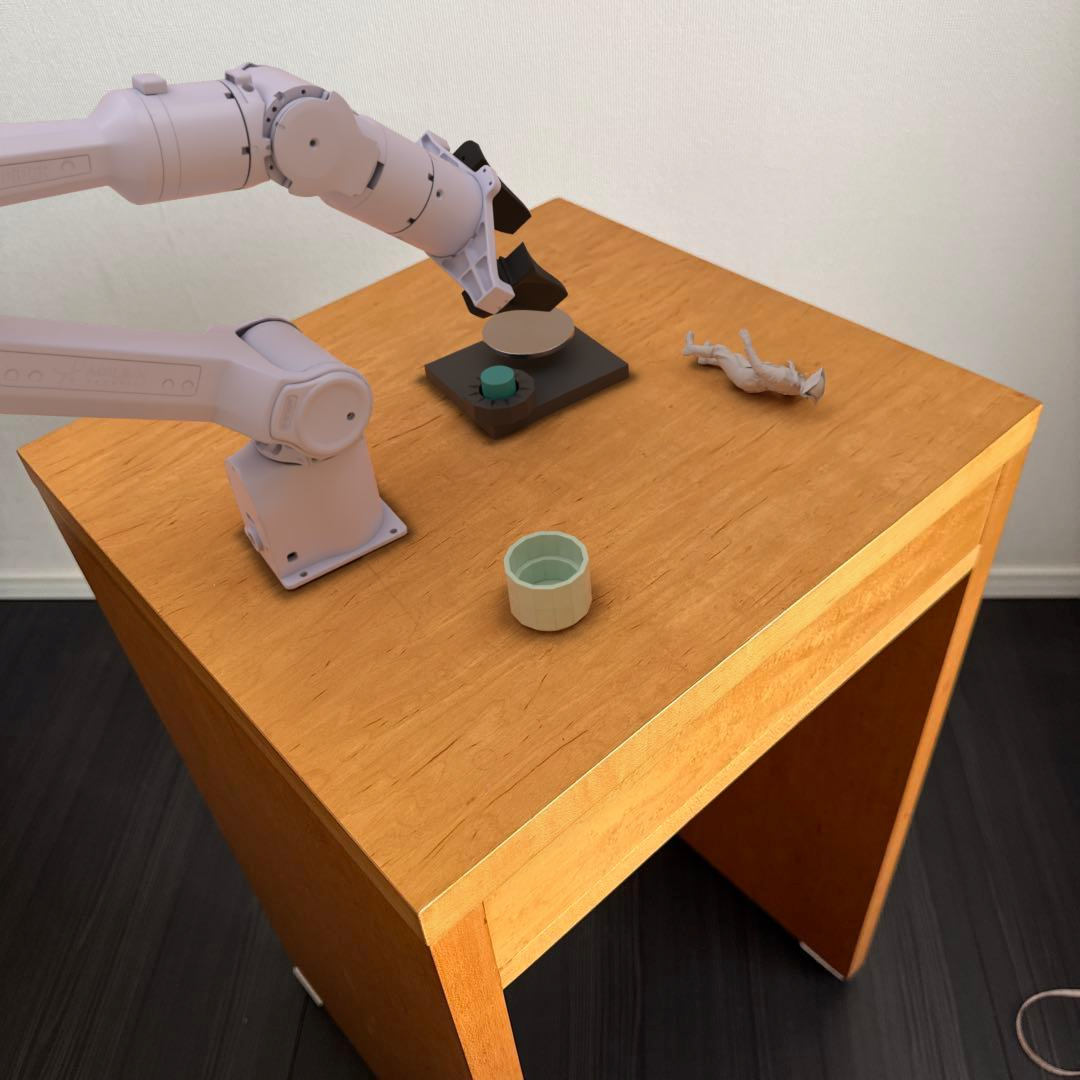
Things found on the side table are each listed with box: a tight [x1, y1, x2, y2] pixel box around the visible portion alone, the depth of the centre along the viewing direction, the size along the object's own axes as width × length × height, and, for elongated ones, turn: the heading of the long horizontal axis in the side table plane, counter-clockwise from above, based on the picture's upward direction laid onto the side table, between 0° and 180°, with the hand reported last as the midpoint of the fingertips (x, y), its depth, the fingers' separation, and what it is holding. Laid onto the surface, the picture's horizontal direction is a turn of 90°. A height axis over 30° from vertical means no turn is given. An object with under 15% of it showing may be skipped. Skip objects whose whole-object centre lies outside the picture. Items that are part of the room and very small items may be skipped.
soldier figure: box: [681, 328, 827, 406], centre depth 88 cm, size 8×5×12 cm
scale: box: [424, 325, 630, 440], centre depth 92 cm, size 14×12×3 cm
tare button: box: [481, 366, 516, 400], centre depth 87 cm, size 3×3×2 cm
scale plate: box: [481, 306, 575, 359], centre depth 92 cm, size 8×8×1 cm
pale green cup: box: [502, 530, 593, 632], centre depth 72 cm, size 5×5×4 cm
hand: (538, 260), depth 81 cm, fingers open, 7 cm apart
